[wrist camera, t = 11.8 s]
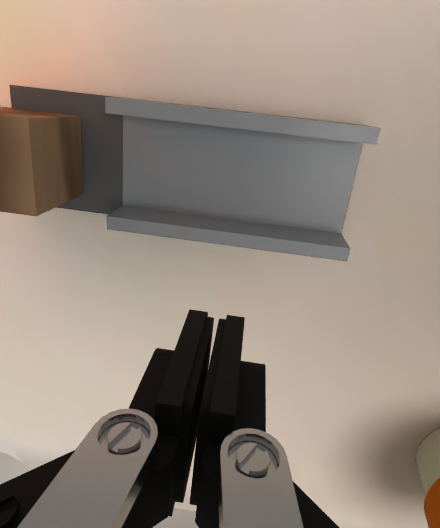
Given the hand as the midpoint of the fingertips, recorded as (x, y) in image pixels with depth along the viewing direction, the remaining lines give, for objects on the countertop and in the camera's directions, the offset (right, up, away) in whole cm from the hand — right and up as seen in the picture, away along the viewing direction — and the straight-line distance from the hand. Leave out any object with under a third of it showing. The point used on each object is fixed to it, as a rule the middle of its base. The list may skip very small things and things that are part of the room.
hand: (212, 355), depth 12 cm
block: (-14, +12, +19) cm, 26 cm away
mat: (-12, +12, +20) cm, 26 cm away
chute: (+1, +10, +19) cm, 21 cm away
